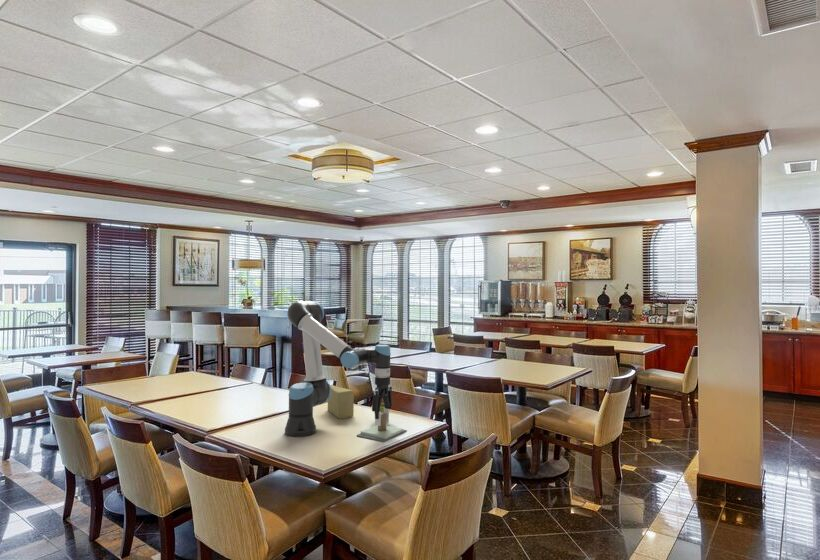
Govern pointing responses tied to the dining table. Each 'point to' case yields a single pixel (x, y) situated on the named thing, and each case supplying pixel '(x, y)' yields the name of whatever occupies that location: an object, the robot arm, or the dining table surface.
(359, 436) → the mat
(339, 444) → the dining table surface
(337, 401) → the cheese
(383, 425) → the lid
